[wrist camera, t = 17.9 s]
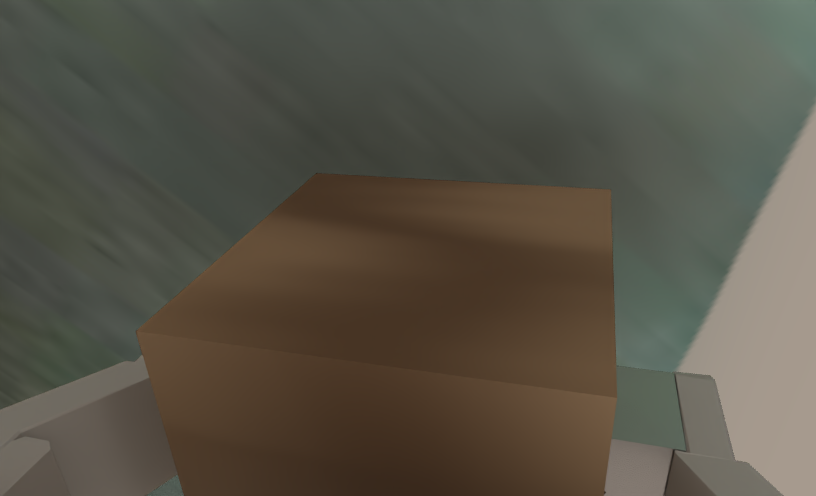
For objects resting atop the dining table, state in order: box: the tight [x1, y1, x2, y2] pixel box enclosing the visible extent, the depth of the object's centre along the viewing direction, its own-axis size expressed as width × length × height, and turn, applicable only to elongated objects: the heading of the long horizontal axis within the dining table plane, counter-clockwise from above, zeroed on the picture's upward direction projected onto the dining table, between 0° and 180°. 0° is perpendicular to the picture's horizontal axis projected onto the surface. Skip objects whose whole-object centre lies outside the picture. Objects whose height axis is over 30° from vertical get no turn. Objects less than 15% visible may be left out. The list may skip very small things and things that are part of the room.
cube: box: [136, 173, 617, 496], centre depth 9 cm, size 5×5×5 cm
